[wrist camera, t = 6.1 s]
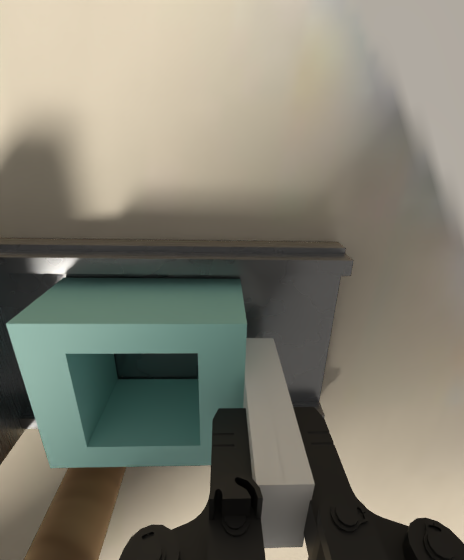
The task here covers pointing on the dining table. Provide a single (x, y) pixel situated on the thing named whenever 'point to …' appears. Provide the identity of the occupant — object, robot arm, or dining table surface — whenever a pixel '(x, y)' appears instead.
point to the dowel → (78, 515)
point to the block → (130, 392)
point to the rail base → (182, 264)
